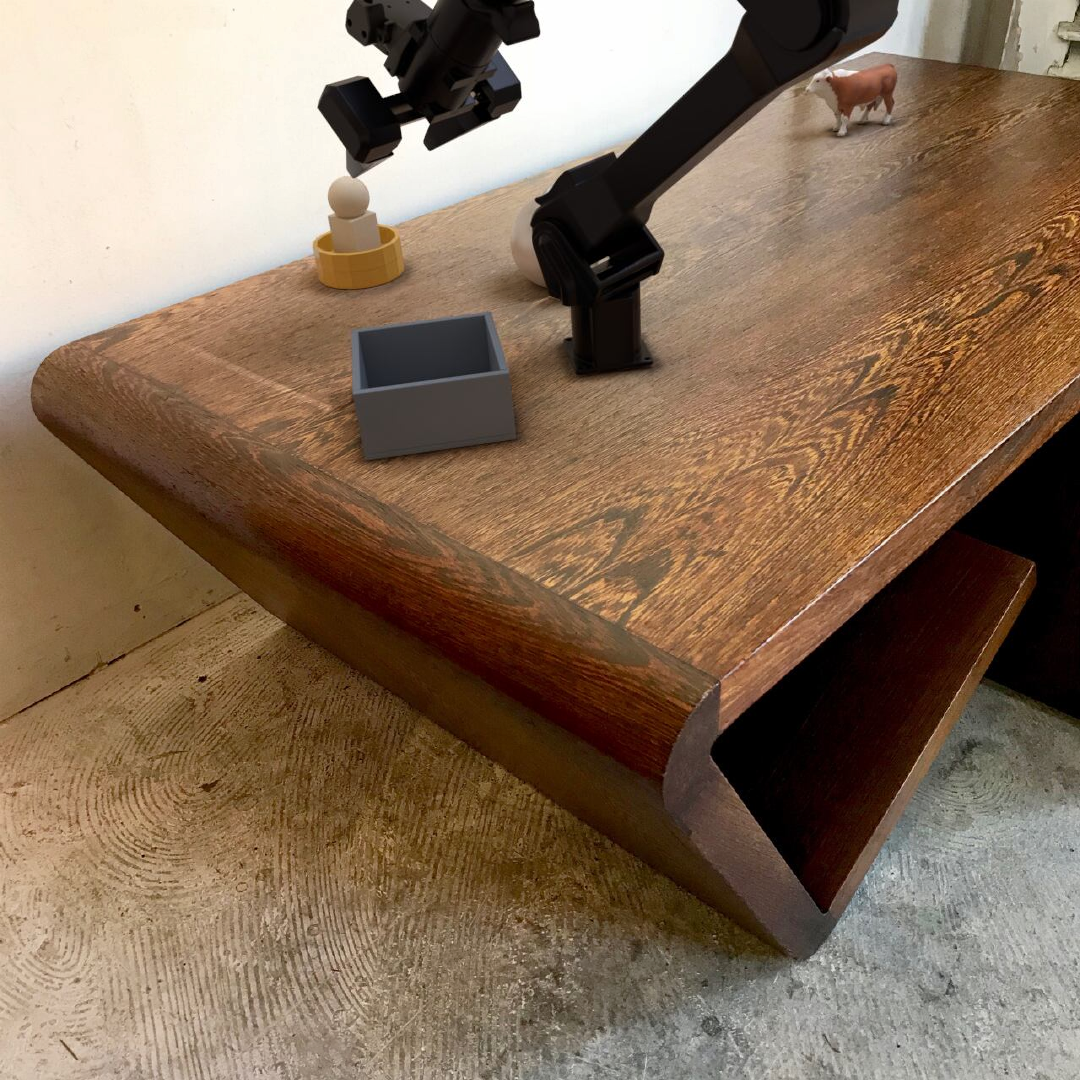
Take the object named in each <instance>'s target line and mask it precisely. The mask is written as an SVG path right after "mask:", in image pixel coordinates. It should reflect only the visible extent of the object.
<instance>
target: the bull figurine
mask: <svg viewBox="0 0 1080 1080" xmlns="http://www.w3.org/2000/svg"><path fill="white" fill-rule="evenodd" d="M897 83H898V72H897V70H896V68H895V66H894V64H892V63H891V62H886V63H883V64H880V65H879V64H878V65H875V66H871V67H868V68H864V69H860V70H845V69H842V68H839V69H835V70H833V71H830V70H829V68H827V69H825V70H823V71H821V72H819V73H817V74H815V75H813V76H812V80H811V81H810V83H809V84H808V85H807V86H806V87H805V92H806V94H808V95H813V94H814V95H815V96H816V97H818V98H820V99H821V100H822V99H823V100H824V101H825V104H826V105H827V106H828V108H829V109H830V110H831V112H832V113H834V117H835V119H836V122H835V125H834V126H833V128H832V131H834V132H837V133H836V136H837V137H845V135H846V134H847V132H848V130H847V124H848V123H849V121H850V118H851V115H852V113H853V111H854V108H855V107H859V108H860V112H863V113H862V115H861V116H860V117H859V118H858V119H857V121H856V124H858V125H859V124H860V125H861V124H865V121H868V120H869V115H870V112H871V111H872V109H873V111H874V112H876V111H877V110H878V108H879V107H880V106H881V105H882V102H884V105H885V109H886V110H885V115H884V117H883V120H882V122H881V125H885V126H886V125H887V126H888V125H890V123H891V120H892V113H893V108H894V106H895V103H896V101H895V99H894V96H893V95H894V91H895V89H896V86H897Z"/></svg>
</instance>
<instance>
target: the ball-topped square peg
mask: <svg viewBox="0 0 1080 1080" xmlns="http://www.w3.org/2000/svg"><path fill="white" fill-rule="evenodd" d="M370 198H371V195H370V191H369V189H368V187H367V186H366V184H365V183H364V182H363V181H362V180H361V179H360V178H359V177H357V178H354V179H353V178H352V177H351V176H350V175H343V176H340V177H338V178H336V179H335V180H333V182H332V183H331V184H330V186H329V188H328V191H327V201H328V205H329V207H330V209H331V210H332V211H333V213H331V214H329V215H327V220H328V224H329V231H331V236H332V241H333V246H334V251H335V253H355V252H363V251H368V250H371V249H375V248H379V247H381V241H380V235H379V229H378V224H379V223H378V222H379V221H378V217H377V212H376V211H372V210H368V208H369V205H370V200H371V199H370Z"/></svg>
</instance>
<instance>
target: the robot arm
mask: <svg viewBox="0 0 1080 1080" xmlns="http://www.w3.org/2000/svg"><path fill="white" fill-rule="evenodd" d="M736 2H738V4H739V5H740V6H741V7H742V8H743V9H744V10H745V12H744V13H743V15H742V16H741V18H740V21H739V24H738V26H737V28H736V32H735V35H734V38H733V40H732V43H731V45H730V48H729V49H728V51H727V52H726V53H725V54H724V55H723V56H722V57H721V58H720V59H719V60H718V61H717V62H716V63H715V64H714V65H713V66H712V67H711V68H710V69H709V70H707V72H705V74H703V75H702V76H701V77H700V78H699V79H698V80H697V81H696V82H695V83H694V84H693V85H692V86H691V87H690V88H689V89H687V91H685V92H684V94H682V95H681V96H680V97H679V98H678V99H677V100H676V101H675V102H674V103H673V104H671V106H670V107H669V108H667V110H666V111H665V112H664V113H663V114H662V115H660V117H658V118H657V119H656V120H655V121H654V122H653V123H652V124H651V125H650V126H649V127H648V128H647V129H646V130H645V131H644V132H642V134H641V135H640V136H639V137H638V138H636V139H635V140H634V141H633V142H632V143H631V144H630V145H629V146H628V147H627V148H626V149H625V150H624V151H623V152H622V153H621V154H620V155H619V156H618V157H617V155H616V153H615V151H614V150H613V151H609V152H607V153H605V154H603V155H601V156H598V157H595V158H593V159H590V160H587V161H586V162H583V163H581V164H578V165H575V166H573V167H571V168H569V169H566V170H564V171H563V172H562V173H561V174H560V175H559V176H558V177H557V178H556V179H555V181H554V183H553V184H554V185H553V184H552V185H553V186H552V188H551V189H550V190H549V192H548V193H546V194H543V195H541V194H540V195H541V196H539V195H538V196H539V197H536V196H535V197H536V198H535V197H534V198H535V202H536V203H538V204H539V205H541V206H540V207H538V208H537V209H536V210H535V212H534V213H533V215H532V217H531V221H530V226H531V228H532V244H533V248H534V251H535V254H536V257H537V260H538V263H539V266H540V269H541V272H542V275H543V278H544V281H545V284H546V287H547V288H546V290H547V293H548V295H549V297H551V298H553V299H556V300H559V301H560V302H561V305H562V306H564V307H567V308H570V321H571V336H570V337H565V338H563V339H562V342H563V347H564V349H565V352H566V354H567V357H568V359H569V361H570V364H571V367H572V369H573V371H574V373H575V375H577V376H586V375H593V374H600V373H609V372H616V371H623V370H630V369H637V368H644V367H645V368H646V367H650V366H652V365H654V357H653V355H652V353H651V352H650V350H649V348H648V346H647V345H646V343H645V341H644V340H643V338H642V310H641V309H642V305H641V299H642V298H641V282H643V281H645V280H647V279H649V278H650V277H651V278H652V277H655V276H656V275H659V273H660V271H661V268H662V265H663V262H664V258H665V254H666V253H665V251H664V249H663V248H662V246H661V244H659V242H658V241H657V239H656V238H655V236H654V235H653V234H652V232H651V231H650V229H649V228H648V226H647V223H648V222H649V220H650V218H651V214H652V211H653V208H654V205H655V203H656V202H657V201H658V199H660V197H662V196H663V195H664V194H665V193H667V191H669V190H670V189H671V188H672V187H673V186H675V185H676V184H677V183H678V182H679V181H681V180H682V179H683V178H684V177H685V176H687V174H689V173H690V172H691V171H692V170H693V169H694V168H695V167H697V166H698V165H699V164H700V163H702V162H703V161H704V160H705V159H706V158H707V157H709V156H710V155H711V154H712V153H713V152H714V151H716V150H717V149H718V148H719V147H721V145H722V144H724V143H725V142H727V141H728V139H729V138H731V137H732V136H734V135H735V133H737V132H738V131H739V130H740V129H742V128H743V127H744V126H745V125H746V124H747V123H748V122H750V121H751V120H752V119H753V118H754V117H755V116H757V115H758V114H759V113H760V112H762V111H763V110H764V109H765V108H766V107H767V106H769V105H770V104H771V103H772V102H774V100H775V99H777V98H778V97H779V96H780V95H782V94H783V93H784V92H785V91H787V90H788V89H790V88H792V87H793V86H796V85H798V84H799V83H802V82H804V81H806V80H808V79H810V78H811V77H814V75H815V74H817V73H819V72H821V71H823V70H825V69H829V68H830V67H832V66H834V65H836V64H838V63H840V62H842V61H844V60H846V59H847V58H849V57H850V56H852V55H854V54H856V53H858V52H859V51H861V50H863V49H865V48H866V47H869V46H871V45H872V44H874V43H876V42H878V40H880V39H881V38H883V37H884V36H885V35H886V34H887V33H888V31H890V29H891V28H893V26H894V23H895V22H896V20H897V17H898V16H899V10H898V9H899V3H900V0H736ZM535 5H536V4H535V1H534V0H437V1H436V2H435V4H434V6H433V7H430V5H428V4H427V3H425V2H424V1H423V0H352V2H351V3H350V5H349V7H348V8H347V10H346V16H345V24H344V26H345V30H346V33H347V34H348V35H349V36H350V37H351V38H353V39H354V40H355V41H357V43H359V44H360V45H362V47H369V46H373V47H375V48H376V49H377V50H378V51H380V52H381V53H382V54H384V55H385V56H387V57H386V59H385V61H384V63H383V68H385V70H386V72H387V73H388V74H389V76H390V77H391V78H394V77H396V78H397V80H398V81H397V87H398V90H399V92H397V93H394V94H391V95H387V96H384V97H383V96H382V94H381V93H380V91H379V89H378V88H377V87H376V86H375V84H374V82H373V81H372V79H371V78H370V77H369V76H365V75H364V76H363V75H355V76H352V77H349V78H344V79H341V80H337V81H333V82H331V83H328V84H325V85H324V88H323V90H322V92H321V95H320V97H319V98H318V102H317V107H316V108H317V110H318V111H319V113H320V114H321V115H322V117H323V118H324V120H325V121H326V122H327V124H328V125H329V127H330V128H331V129H332V131H333V133H334V134H335V135H336V137H337V138H338V140H339V141H340V142H341V144H342V146H343V147H344V148H345V169H346V171H347V173H348V175H349V176H351V177H352V178H353V179H354V178H359V177H361V176H362V175H364V174H365V173H367V172H369V171H370V170H372V169H373V168H375V167H377V166H379V165H380V164H382V163H384V162H385V161H387V160H388V159H390V158H391V157H393V156H394V155H395V153H394V150H395V149H397V148H398V147H399V145H400V144H401V142H402V140H403V135H402V133H403V132H402V127H404V126H408V125H410V124H413V123H417V122H419V121H420V122H421V121H422V120H426V121H427V122H428V127H427V129H426V132H425V135H424V137H423V140H422V142H423V146H424V147H425V149H427V151H428V152H432V151H434V150H436V149H438V148H441V147H442V146H444V145H446V144H449V143H451V142H452V141H454V140H456V139H459V138H460V137H462V136H464V135H466V134H469V133H470V132H473V131H475V130H477V129H479V128H481V127H484V126H486V125H487V124H489V123H492V122H493V121H496V120H498V119H500V118H501V116H503V115H506V114H509V113H512V112H513V111H514V110H515V108H516V107H517V106H518V104H519V102H521V100H522V98H523V93H522V82H521V80H520V79H519V77H518V76H517V74H516V73H515V72H514V70H513V69H512V67H511V66H510V65H509V63H508V62H507V60H506V59H505V58H504V56H503V55H502V53H501V52H500V50H499V48H500V47H501V45H502V44H504V45H505V46H507V47H509V46H513V45H517V44H520V43H523V42H528V41H531V40H533V39H534V40H535V39H537V38H539V37H540V36H541V26H540V21H539V18H538V17H537V14H536V12H535V11H536V9H535V7H536V6H535ZM606 258H608V259H606ZM604 259H606V260H604ZM602 260H604V261H602ZM598 261H599V262H600V261H602V262H600V263H599V262H598ZM596 262H598V264H597V265H596V266H594V267H592V268H591V267H590V265H592V264H594V263H596Z"/></svg>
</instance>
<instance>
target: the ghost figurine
mask: <svg viewBox="0 0 1080 1080" xmlns="http://www.w3.org/2000/svg"><path fill="white" fill-rule="evenodd" d="M553 185H554V183H553V184H550V185H549V186H546V187H545V189H543V191H542V193H541V194H539V195H537V196H534V197H533V198H531V199H530V200H529V201H527V202H526V203H525V204H524V205H523V206H522V207H521V208H520V210H519V211H518V213H517V214H516V216H515V218H514V220H513V223H512V225H511V229H510V235H509V238H510V239H509V245H510V251H511V256H512V259H513V261H514V263H515V266H516V267H517V268H518V270H519V271H520V273H522V275H523V276H524V277H526V279H528V280H529V281H530V282H532V283H533V284H535V285H538V286H539V287H543V288H546V289H547V287H546V284H545V281H544V278H543V275H542V272H541V269H540V266H539V263H538V260H537V257H536V254H535V251H534V248H533V244H532V228H531V226H530V221H531V217H532V215H533V213H534V212H535V210H536V209H537V208H538V207H540V206H541V205H539V204H538V203H536V202H535V198H536V197H539V196H541V195H543V194H546V193H548V192H549V190H550V189H551V188H552V186H553ZM599 262H600V261H598V262H596V263H594V264H592V265H590V267H591V268H592V267H594V266H596V265H598V264H599Z"/></svg>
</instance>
